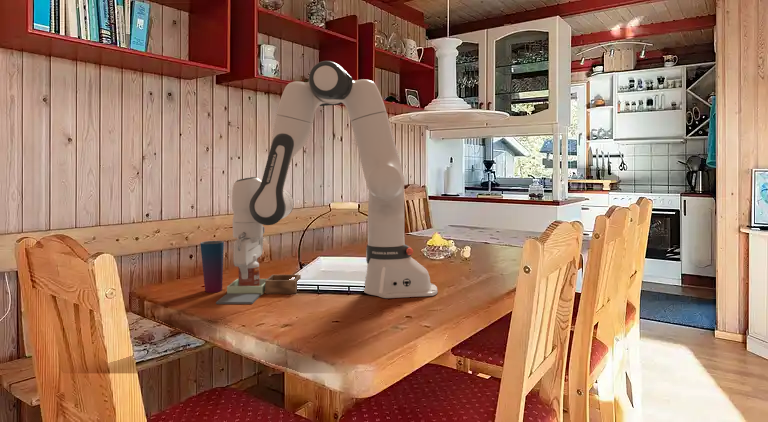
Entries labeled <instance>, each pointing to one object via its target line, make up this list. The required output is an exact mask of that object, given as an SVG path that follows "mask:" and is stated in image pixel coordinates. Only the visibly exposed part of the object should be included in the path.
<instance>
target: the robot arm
mask: <svg viewBox="0 0 768 422" xmlns="http://www.w3.org/2000/svg"><path fill="white" fill-rule="evenodd" d="M283 89H284V90H283V92H282V94H281V97H280V100H279V103H278V106H277V110H276V113H275V118H274V123H273V124H274V125H273V129H272V137H271V142H270V143H271V144H270V150H269V153H268V156H267V161H266V163H265V168H264V171H263V175H262V178H261V179H260V178H259V177H258V176H257V177H256V176H252V177H251V176H250V177H245V178H239V179H237V180H236V181H235V182H234V183H233V185H232V186H233V187H232V192H231V208H232V212H233V217H232V237H233V238H235V239H236V240H234V243H233V256H232V257H233V261H232V262H233V265H234V267H238V266H240V271H241V277H242V279H248V278H249V272H248V264H249V263H251V262H252V261H253V256H254V255H255V254H256V257H257V258H256V262H258V258H260V257H261V256H262V254H263V250H264V248H263V247H264V234H265V233H266V232H265V226H272V225H275V224H277V223H278V222H280V220H282V219H285V218H286V217H288V216H289V215H290V214H291V213H292V211H293V209H294V205H295V204H294V203H295V202H294V198H293V196H292V194H291V193H290V192H289V191H288V190H286V189H285V188H284V187H285V183H286V180H287V177H288V172H289V169H290V165H291V163H292V160H293V159H294V157H295V156H296V154H298V152H299V151H301V149H303V148H305V146H306V145H307V142H308V140H309V138H310V135H311V132H312V128H313V124H314V120H315V119H314V118H315V115H316V112H317V109H318V108H319V107H325V106H336V105H341V104H343V106H345V109H346V111H347V113H348V114H347V115H348V116H349V119H350V124H351V127H352V128H351V129H352V132H353V135H354V139H355V143H356V147H357V150H358V154H359V159H360V164H361V168H362V171H363V177H364V180H365V184H366V188H367V189H368V203H367V204H368V207H367V245H366V248H365V251H366V252H365V254H366V255H365V259H366V261H365V262H366V264H367V266H366V275H365V276H366V277H365V280H364V285H365V289H364V292H363V293H365V294H367V295H371V296H377V297H378V298H379V297H380V298H383V299H395V298H399V299H400V298H410V297H411V298H414V297H417V298H418V297H433V296H435V295H437V294H438V286H436V285H435V284H434V283H431V277H430V275H429V274H430V273H429V271H428V270H427V268H426V267H424V265H422V264H421V263H419V262H418V261H417V260H416V259H414V258H413V257H412V255H413V254H414V249H413V248H412V247H411V246H410V245H408V244H405V241H406V240H405V176H404V172H403V171H404V170H403V168H402V165H401V160H400V156H399V154H398V153H399V152H398V150H397V145H396V142H395V138H394V135H393V131H392V128H391V123H390V119H389V116H388V113H387V109H386V105H385V103H384V99H383V98H382V94H381V92H380V90H379V88H378V86H377V84H376V83H375V82H374V81H373V80H370V79H364V78H363V79H362V78H361V79H356V80H355V79H353V77H352V76H351V75H350V74H349V73H348V72H347V71H346V70H345V69H344V68H343V67H342V66H341V65H340V64H338V63H336V62H334V61H333V60H332V61H331V60H323V61H319V62H317V63H316V64H314V66H313V67H311V70H310V72H309V75H308V81H307V82H306V81H305V82H304V81H297V80H296V81H292V82H289V83H288V84H287V85H285V87H284V88H283Z"/></svg>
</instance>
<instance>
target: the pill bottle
mask: <svg viewBox="0 0 768 422" xmlns="http://www.w3.org/2000/svg"><path fill="white" fill-rule="evenodd" d="M256 258H257V257H256V254H255V255H254V256H253V261H252V262H251V263H249V264H248V272H249V278H248V279H242V277H241V271H240V266H237V268H238V269H237V270H238V279H239V286H260V279H261V278H260V263H259V261H257V262H256ZM257 259H258V258H257Z"/></svg>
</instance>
